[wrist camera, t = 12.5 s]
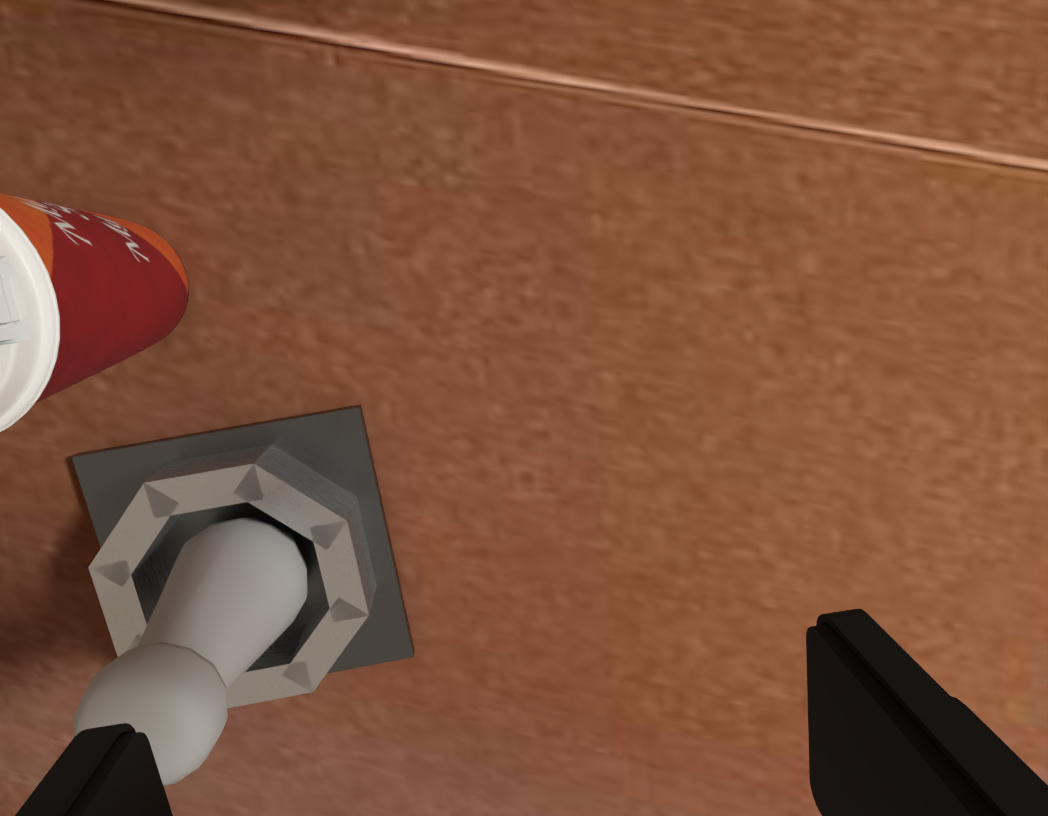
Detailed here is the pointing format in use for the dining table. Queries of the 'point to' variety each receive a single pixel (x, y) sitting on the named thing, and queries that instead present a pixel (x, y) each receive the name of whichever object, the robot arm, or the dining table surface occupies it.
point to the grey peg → (200, 641)
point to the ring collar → (276, 498)
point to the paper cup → (77, 297)
